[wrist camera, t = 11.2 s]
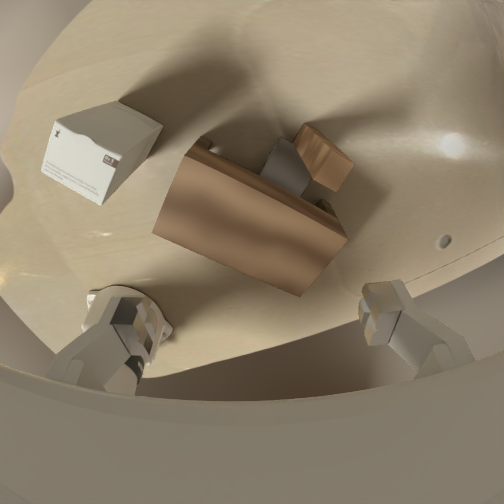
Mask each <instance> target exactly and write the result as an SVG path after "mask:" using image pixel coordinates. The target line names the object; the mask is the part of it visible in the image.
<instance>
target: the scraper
mask: <svg viewBox="0 0 504 504" xmlns="http://www.w3.org/2000/svg"><path fill="white" fill-rule="evenodd" d="M354 165H355V164H354V163H353V162H352V161H351V160H350V159H349V158H348V157H347V156H346V155H345V154H343V153H342V152H341V151H340V150H339V149H338V148H337V147H336V146H335V145H334V144H333V143H332V142H331V141H329V140H328V139H327V138H326V137H325V136H324V135H323V134H322V133H320V132H319V131H317V130H315V129H314V128H312V127H310V126H308V125H307V124H305V123H304V124H303V126H302V127H301V129H300V131H299V133H298V134H297V136H296V138H295V139H294V141H293V142H291V141H289V140H287V139H285V138H283V137H281V136H280V138H279V139H278V141H277V143H276V145H275V146H274V148H273V150H272V152H271V154H270V155H269V157H268V159H267V161H266V163H265V164H264V166H263V168H262V170H261V172H260V173H259V176H261V177H263V178H265V179H267V180H269V181H271V182H273V183H274V184H276V185H278V186H280V187H282V188H284V189H286V190H287V191H289V192H291V193H293V194H295V195H297V196H298V197H300V196H301V195H302V193H303V191H304V190H305V188H306V187H307V185H308V183H309V182H310V180H311V179H312V178H313V180H315V181H316V182H318V183H320V184H322V185H324V186H326V187H327V188H329V189H331V190H333V191H334V192H337V191H338V189H339V188H340V186H341V185H342V183H343V182H344V180H345V179H346V177H347V176H348V174H349V172H350V171H351V169H352V168H353V166H354Z"/></svg>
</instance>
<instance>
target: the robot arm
mask: <svg viewBox="0 0 504 504" xmlns="http://www.w3.org/2000/svg"><path fill="white" fill-rule="evenodd" d="M362 294H363V296H364V297H363V298H362V299H361V300H360V302H359V307H358V314H359V319H360V322H361V324H362V325H363V326H364V327H366V328H365V332H364V334H365V337H366V340H367V343H368V346H373V345H381V344H388V345H389V346H390V347H391V348H392V349H393V350H394V351H395V352H397V353H398V354H399V355H400V356H401V357H402V358H403V359H404V360H405V361H406V362H407V363H408V364H409V365H410V366H411V367H412V368H413V369H414V370H415V371H416V372H417V374H416V376H415V377H414V379H413V380H411V381H406V382H402V383H398V384H393V385H389V386H383V387H378V388H373V389H368V390H362V391H356V392H351V393H344V394H336V395H329V396H320V397H312V398H301V399H290V400H274V401H248V402H247V401H246V402H215V401H188V400H173V399H160V398H151V397H141V396H134V392H135V389H136V385H137V384H138V383H139V382H140V379H141V378H142V375H143V369H144V365H145V364H146V365H150V364H151V363H152V361H153V360H154V359H155V356H156V353H157V350H158V347H159V345H160V344H161V343H162V342H163V341H164V340H165V339H166V338H167V337H169V336H170V335H171V333H172V331H173V328H172V327H171V325H170V324H169V323H168V322H167V321H166V320H165V319H164V317H163V315H162V312H161V311H160V309H159V307H158V306H157V305H156V304H155V303H154V302H153V301H152V300H151V299H150V298H149V297H148V296H146V295H144V294H143V293H141V292H139V291H137V290H134V289H132V288H128V287H124V286H110V287H107V288H105V289H103V290H101V291H90V292H88V295H87V303H88V312H87V314H86V316H85V319H84V321H83V323H82V328H83V333H82V334H81V335H80V336H79V337H77V338H76V339H75V340H74V341H72V342H71V343H70V344H68V345H67V346H66V347H65V348H63V349H62V350H61V351H60V352H58V353H57V354H56V355H55V357H54V359H53V362H52V364H51V366H50V368H49V370H48V373H47V375H46V377H45V378H43V377H39V376H36V375H33V374H29V373H26V372H23V371H19V370H16V369H13V368H10V367H7V366H5V365H2V364H0V504H504V350H503V351H500V352H498V353H495V354H493V355H491V356H488V357H485V358H482V359H480V360H477V361H476V360H475V358H474V356H473V354H472V352H471V350H470V348H469V346H468V344H467V342H466V340H465V338H464V337H463V336H462V335H460V334H459V333H457V332H456V331H454V330H453V329H451V328H450V327H448V326H447V325H445V324H444V323H442V322H441V321H439V320H438V319H436V318H435V317H433V316H432V315H430V314H429V313H427V312H426V311H424V310H423V309H421V308H417V307H416V305H415V303H414V301H413V300H412V298H411V296H410V294H409V292H408V291H407V289H406V287H405V285H404V284H403V282H402V281H401V280H393V281H386V282H376V283H367V284H364V286H363V288H362Z"/></svg>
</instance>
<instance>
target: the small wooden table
mask: <svg viewBox="0 0 504 504" xmlns="http://www.w3.org/2000/svg"><path fill="white" fill-rule="evenodd" d="M211 142H212V141H211V140H209V139H206V138H204V137H202V136H200V138H199V139H198V140H197V141H196V142H195V143H194V144H193V146H192V147H191V148H190V149H189V150H188V152H187V153H186V154H185V155H184V157H183V159H182V162H181V164H180V166H179V168H178V170H177V173H176V175H175V177H174V179H173V182H172V184H171V186H170V189H169V191H168V193H167V196H166V198H165V201H164V203H163V206H162V208H161V211H160V213H159V216H158V218H157V221H156V223H155V226H154V228H153V231H152V233H153V234H155V235H158V236H160V237H162V238H164V239H166V240H169V241H171V242H173V243H175V244H178V245H180V246H182V247H184V248H187V249H189V250H191V251H193V252H196V253H198V254H200V255H202V256H205V257H207V258H209V259H212V260H214V261H216V262H218V263H221V264H223V265H225V266H228V267H230V268H232V269H235V270H237V271H239V272H242V273H244V274H246V275H249V276H251V277H253V278H256V279H258V280H260V281H263V282H265V283H267V284H270V285H272V286H275V287H277V288H279V289H282V290H284V291H287V292H289V293H291V294H294V295H296V296H299V297H300V296H301V295H302V294H303V293H304V292H305V291H306V290H307V288H308V287H309V286H310V285H311V284H312V283H313V281H314V280H315V279H316V278H317V277H318V276H319V274H320V273H321V272H322V271H323V270H324V269H325V267H326V266H327V265H328V264H329V263H330V261H331V260H332V259H333V258H334V257H335V255H336V254H337V253H338V252H339V251H340V249H341V248H342V247H343V246H344V244H345V243H346V242H347V241H348V238H347V236H346V234H345V232H344V230H343V228H342V226H341V224H340V222H339V220H338V218H337V217H336V215H335V213H334V211H333V209H332V207H331V205H330V204H329V203H327V202H326V201H324V200H322V199H321V200H320V201H319V202H318V204H317V205H316V206H314V205H313V204H311V203H309V202H307V201H306V200H304V199H302V198H300V197H298V196H297V195H295V194H293V193H291V192H289V191H287V190H286V189H284V188H282V187H280V186H278V185H276V184H274V183H273V182H271V181H269V180H267V179H265V178H263V177H261V176H259V175H257V174H255V173H253V172H251V171H249V170H247V169H245V168H244V167H242V166H240V165H238V164H236V163H233V162H231V161H229V160H227V159H225V158H223V157H221V156H219V155H217V154H215V153H213V152H211V151H209V150H208V148H209V146H210V144H211Z"/></svg>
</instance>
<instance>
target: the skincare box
mask: <svg viewBox="0 0 504 504" xmlns="http://www.w3.org/2000/svg"><path fill="white" fill-rule="evenodd" d="M162 128H163V125H162V124H160V123H158V122H156V121H155V120H153V119H151V118H149V117H147V116H145V115H144V114H142V113H140V112H138V111H136V110H134V109H132V108H130V107H128V106H125V105H123V104H121V103H120V102H118V101H114V102H110V103H107V104H103V105H100V106H96V107H93V108H90V109H87V110H83V111H80V112H77V113H74V114H71V115H68V116H66V117H63V118H60V119H57V120H55V123H54V126H53V129H52V132H51V135H50V139H49V142H48V146H47V150H46V154H45V157H44V160H43V164H42V168H41V172H43V173H44V174H46V175H48V176H49V177H51V178H53V179H55V180H56V181H58V182H60V183H62V184H63V185H65V186H67V187H68V188H70V189H72V190H74V191H75V192H77V193H79V194H81V195H83V196H84V197H86V198H88V199H90V200H91V201H93V202H95V203H97V204H98V205H100V206H102V205H103V204H104V202H105V201H106V200H107V199H108V198H109V197H110V196H111V195H112V194H113V193H114V192H115V191H116V190H117V189H118V187H119V186H120V185H121V184H122V183H123V182H124V181H125V180H126V179H127V178H128V177H129V176H130V175H131V174H132V173H133V172H134V171H135V170H136V169H137V168H138V167H139V166H140V165H141V164H142V163H143V162H144V161H145V160H146V158H147V156H148V154H149V152H150V150H151V148H152V146H153V145H154V143H155V141H156V139H157V137H158V135H159V134H160V132H161V130H162Z"/></svg>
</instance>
